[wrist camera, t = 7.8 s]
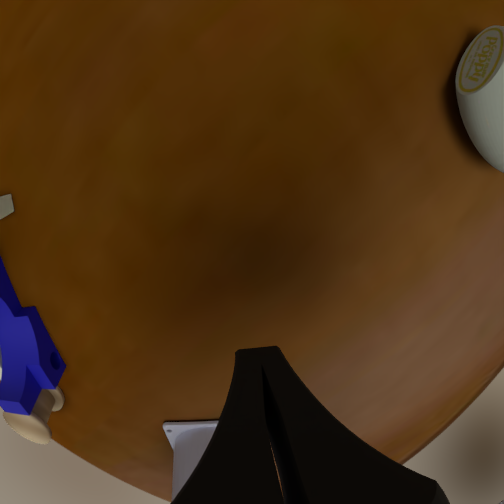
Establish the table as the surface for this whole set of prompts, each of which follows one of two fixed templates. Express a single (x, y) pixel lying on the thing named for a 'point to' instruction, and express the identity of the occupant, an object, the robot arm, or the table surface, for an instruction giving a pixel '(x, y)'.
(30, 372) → the blue curved block
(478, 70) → the air freshener
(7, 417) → the bobbin
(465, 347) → the table surface
